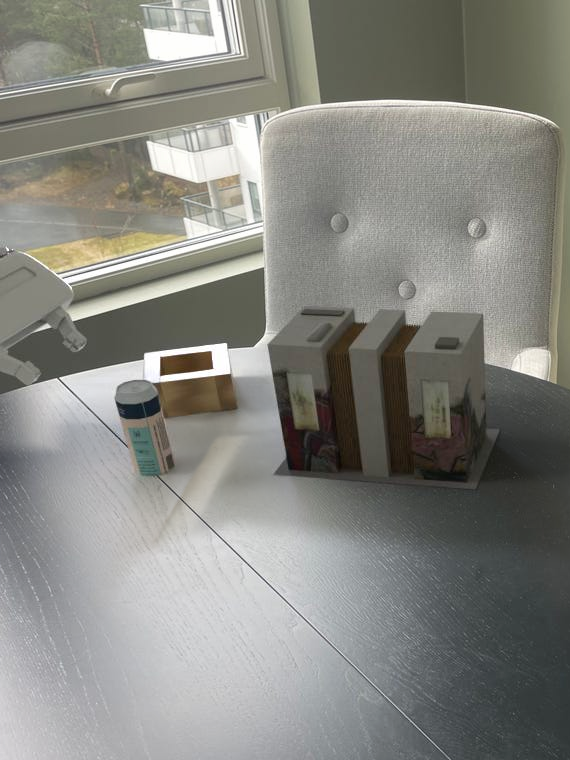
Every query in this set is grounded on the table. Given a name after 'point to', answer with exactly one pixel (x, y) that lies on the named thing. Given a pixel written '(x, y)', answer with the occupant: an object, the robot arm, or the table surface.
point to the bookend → (383, 397)
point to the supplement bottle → (144, 427)
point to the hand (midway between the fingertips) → (59, 362)
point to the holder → (192, 379)
